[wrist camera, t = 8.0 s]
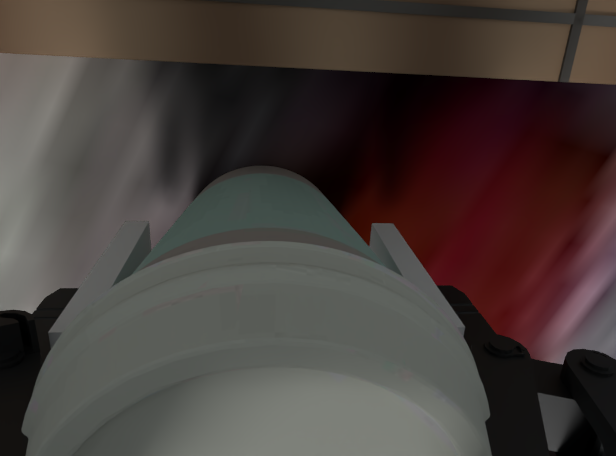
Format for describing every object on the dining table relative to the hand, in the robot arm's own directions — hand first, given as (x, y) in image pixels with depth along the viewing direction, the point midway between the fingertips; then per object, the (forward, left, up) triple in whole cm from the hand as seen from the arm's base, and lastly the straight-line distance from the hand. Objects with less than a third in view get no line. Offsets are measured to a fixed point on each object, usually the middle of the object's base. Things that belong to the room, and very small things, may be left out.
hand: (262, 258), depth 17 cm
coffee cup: (0, 0, -2) cm, 2 cm away
